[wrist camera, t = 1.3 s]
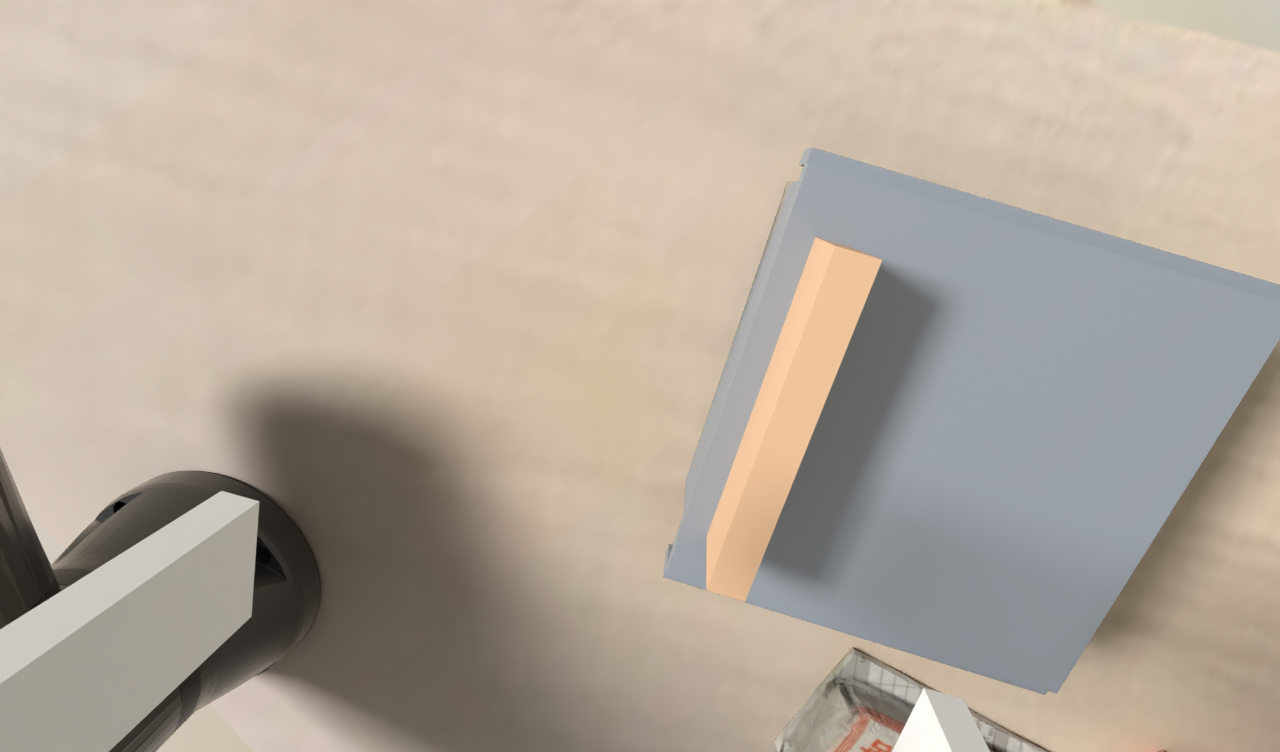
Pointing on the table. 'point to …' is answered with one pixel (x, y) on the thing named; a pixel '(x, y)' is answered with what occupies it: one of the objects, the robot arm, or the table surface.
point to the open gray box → (740, 335)
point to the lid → (961, 421)
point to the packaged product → (870, 712)
